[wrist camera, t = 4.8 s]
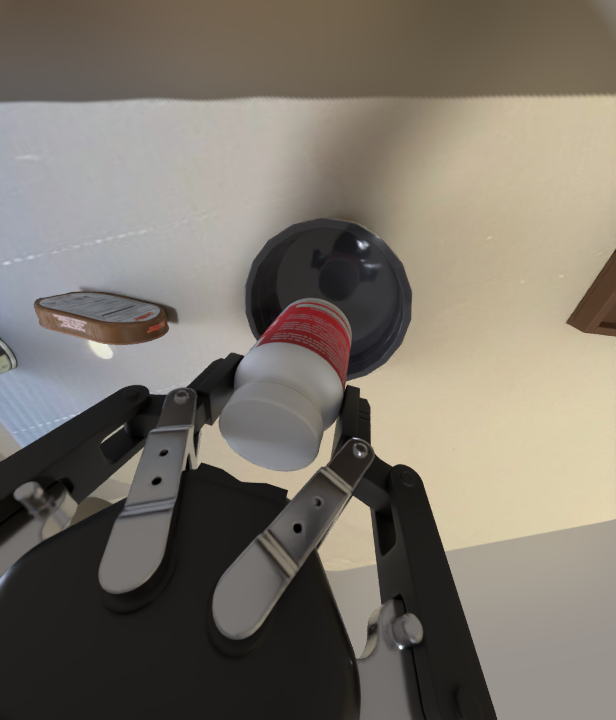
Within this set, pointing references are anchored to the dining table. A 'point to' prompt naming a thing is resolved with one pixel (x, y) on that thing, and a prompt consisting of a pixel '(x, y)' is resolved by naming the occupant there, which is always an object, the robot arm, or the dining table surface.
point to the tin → (102, 317)
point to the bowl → (335, 285)
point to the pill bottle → (289, 387)
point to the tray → (598, 304)
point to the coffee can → (6, 358)
